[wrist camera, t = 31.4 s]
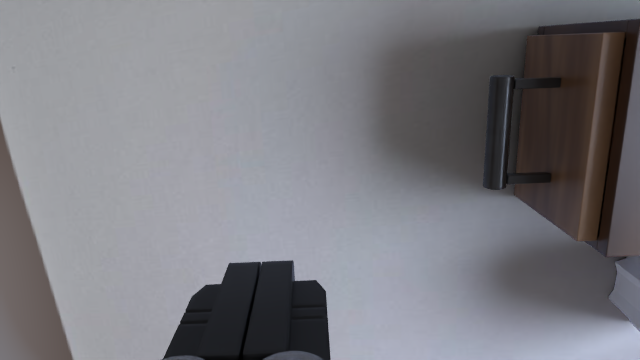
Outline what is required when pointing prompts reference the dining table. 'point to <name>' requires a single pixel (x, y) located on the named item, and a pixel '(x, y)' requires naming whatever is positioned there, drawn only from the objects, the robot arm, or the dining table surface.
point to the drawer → (558, 127)
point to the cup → (628, 288)
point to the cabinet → (619, 145)
